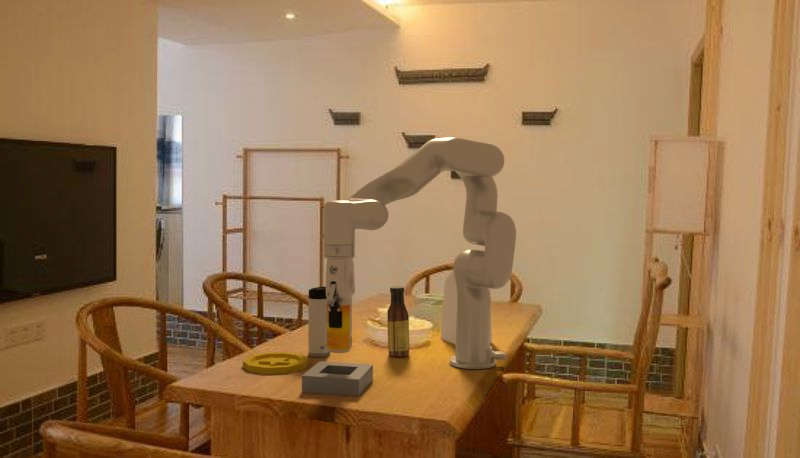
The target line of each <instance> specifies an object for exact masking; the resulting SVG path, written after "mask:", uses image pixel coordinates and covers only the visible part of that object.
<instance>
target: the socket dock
mask: <svg viewBox="0 0 800 458" xmlns="http://www.w3.org/2000/svg"><path fill="white" fill-rule="evenodd" d="M373 380H374V364H370V363H368V364H367V363H355V362H353V363H352V362H338V361H323V360H320V361H319V362H317V363H316V364H315V365H313V366H311V368H310V369H309V370H307V371H306V372H304V373H303V374H301V393H305V394H306V393H308V394H319V395H320V394H321V395H322V394H324V395H334V396H335V395H337V396H350V397H351V396H352V397H360V396H361V394H363V392H364V391H366V389H367V388H368V387H369V385H371V383H372V381H373Z"/></svg>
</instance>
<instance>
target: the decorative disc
mask: <svg viewBox="0 0 800 458" xmlns="http://www.w3.org/2000/svg"><path fill="white" fill-rule="evenodd" d="M309 360H310V359H309V358H308V357H307V356H305V355H303V354H302V353H296V352H295V353H294V352H287V351H279V352H278V351H274V352H271V351H270V352H262V353H257V354H252V355H248V356H247V357H245V359H243V360H242V368H244V370H246V371H248V372H249V373H250V372H251V373H255V374H256V373H257V374H263V375H278V373H281V374H290V373H293V372H294V371H295V372H298V370H299V371H302V370H305V368H307V366H308V365H309Z"/></svg>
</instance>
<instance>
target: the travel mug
mask: <svg viewBox="0 0 800 458" xmlns="http://www.w3.org/2000/svg"><path fill="white" fill-rule="evenodd" d="M307 309H308V311H307V312H308V318H307V319H308V325H307V327H308V328H307V329H308V336H307V337H308V341H307V343H308V345H307V346H308V353H307V354H308V356H309V357H312V358H326V357H329V356H330V355H331V352H329V350H328V349H327V297H326V286H316V287H313V288H310V289H308V308H307Z"/></svg>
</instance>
